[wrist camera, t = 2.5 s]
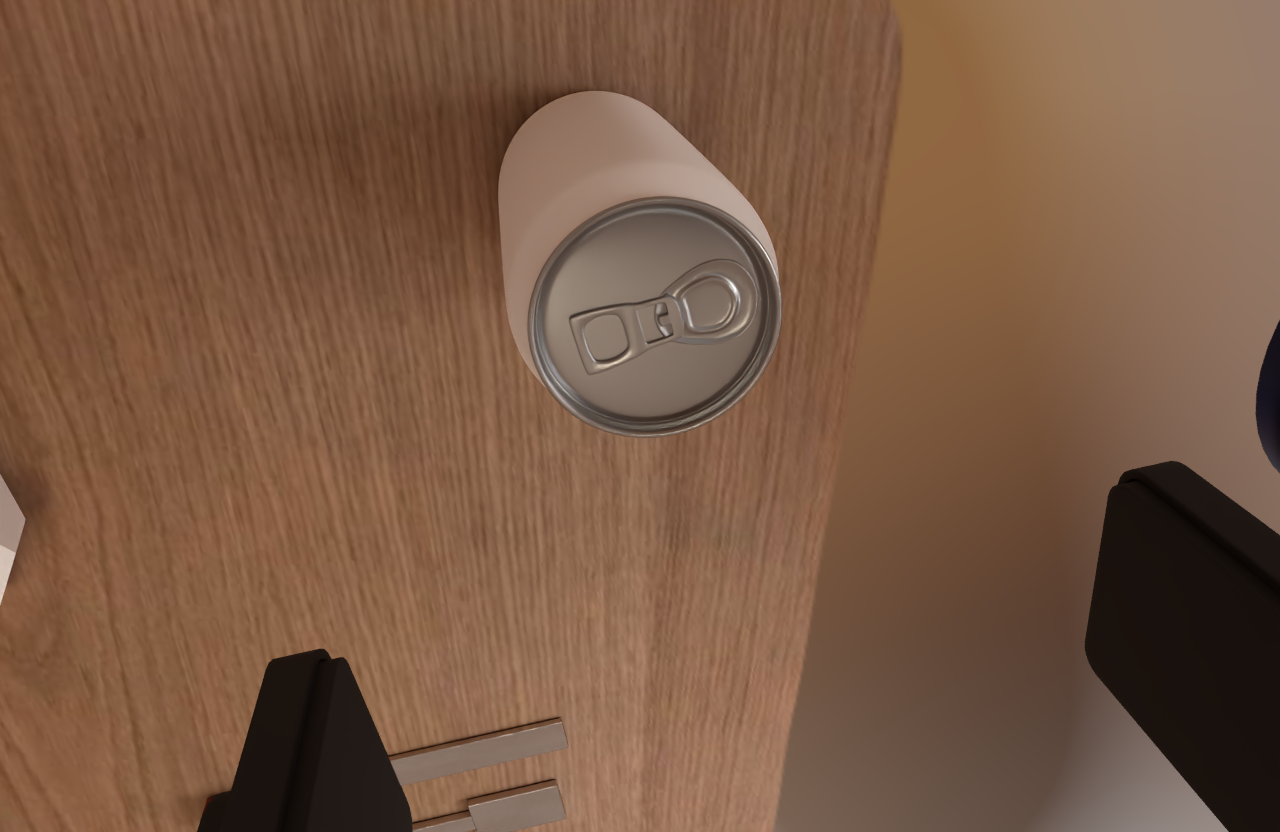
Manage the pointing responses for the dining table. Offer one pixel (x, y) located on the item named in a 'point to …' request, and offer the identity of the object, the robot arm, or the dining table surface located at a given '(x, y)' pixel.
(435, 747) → the knife
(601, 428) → the can
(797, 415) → the dining table surface
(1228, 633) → the robot arm
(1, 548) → the crystal
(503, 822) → the teal handled spatula
